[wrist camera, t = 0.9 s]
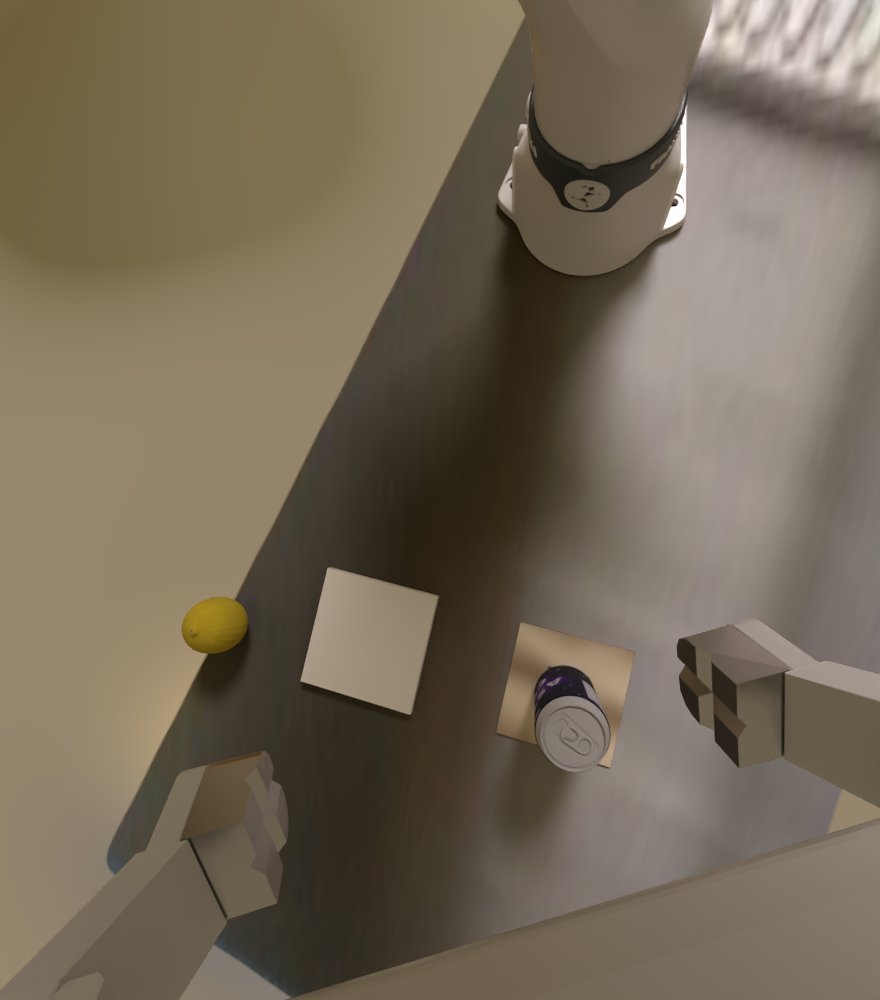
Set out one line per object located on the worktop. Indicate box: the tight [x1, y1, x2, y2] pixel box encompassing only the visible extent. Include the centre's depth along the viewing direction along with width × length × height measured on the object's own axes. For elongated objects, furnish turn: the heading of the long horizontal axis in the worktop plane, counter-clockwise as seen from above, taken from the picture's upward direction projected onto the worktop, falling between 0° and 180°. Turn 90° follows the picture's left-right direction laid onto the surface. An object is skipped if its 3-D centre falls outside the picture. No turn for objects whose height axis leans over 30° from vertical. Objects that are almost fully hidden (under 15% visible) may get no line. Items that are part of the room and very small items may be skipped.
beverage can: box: [534, 665, 611, 772], centre depth 45 cm, size 6×6×12 cm
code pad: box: [496, 622, 635, 767], centre depth 51 cm, size 11×11×1 cm
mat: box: [301, 567, 439, 715], centre depth 55 cm, size 12×12×1 cm
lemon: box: [182, 597, 248, 654], centre depth 54 cm, size 6×6×8 cm
